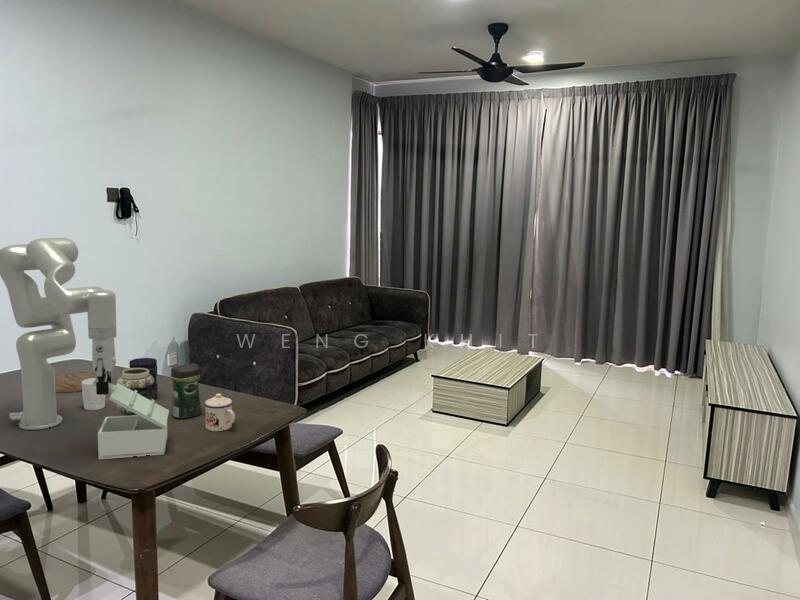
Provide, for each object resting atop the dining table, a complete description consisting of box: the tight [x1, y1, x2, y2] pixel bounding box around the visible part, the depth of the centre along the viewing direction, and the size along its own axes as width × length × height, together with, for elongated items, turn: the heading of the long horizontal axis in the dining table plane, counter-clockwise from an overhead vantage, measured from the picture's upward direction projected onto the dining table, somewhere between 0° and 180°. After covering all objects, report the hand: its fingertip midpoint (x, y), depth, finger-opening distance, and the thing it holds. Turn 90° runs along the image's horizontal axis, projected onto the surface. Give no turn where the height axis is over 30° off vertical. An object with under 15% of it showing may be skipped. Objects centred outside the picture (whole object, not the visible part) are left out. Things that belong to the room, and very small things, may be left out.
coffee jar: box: [170, 362, 202, 420], centre depth 216 cm, size 10×8×19 cm
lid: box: [93, 379, 170, 428], centre depth 185 cm, size 24×14×2 cm
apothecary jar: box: [116, 368, 156, 416], centre depth 208 cm, size 12×12×18 cm
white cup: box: [81, 378, 106, 411], centre depth 220 cm, size 8×8×10 cm
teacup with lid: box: [204, 393, 236, 432], centre depth 205 cm, size 12×9×12 cm
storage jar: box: [128, 357, 159, 401], centre depth 231 cm, size 10×10×15 cm
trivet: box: [55, 371, 96, 394], centre depth 246 cm, size 25×25×2 cm
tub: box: [97, 415, 168, 460], centre depth 187 cm, size 18×14×8 cm
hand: (104, 391), depth 182 cm, fingers closed on lid, 4 cm apart
